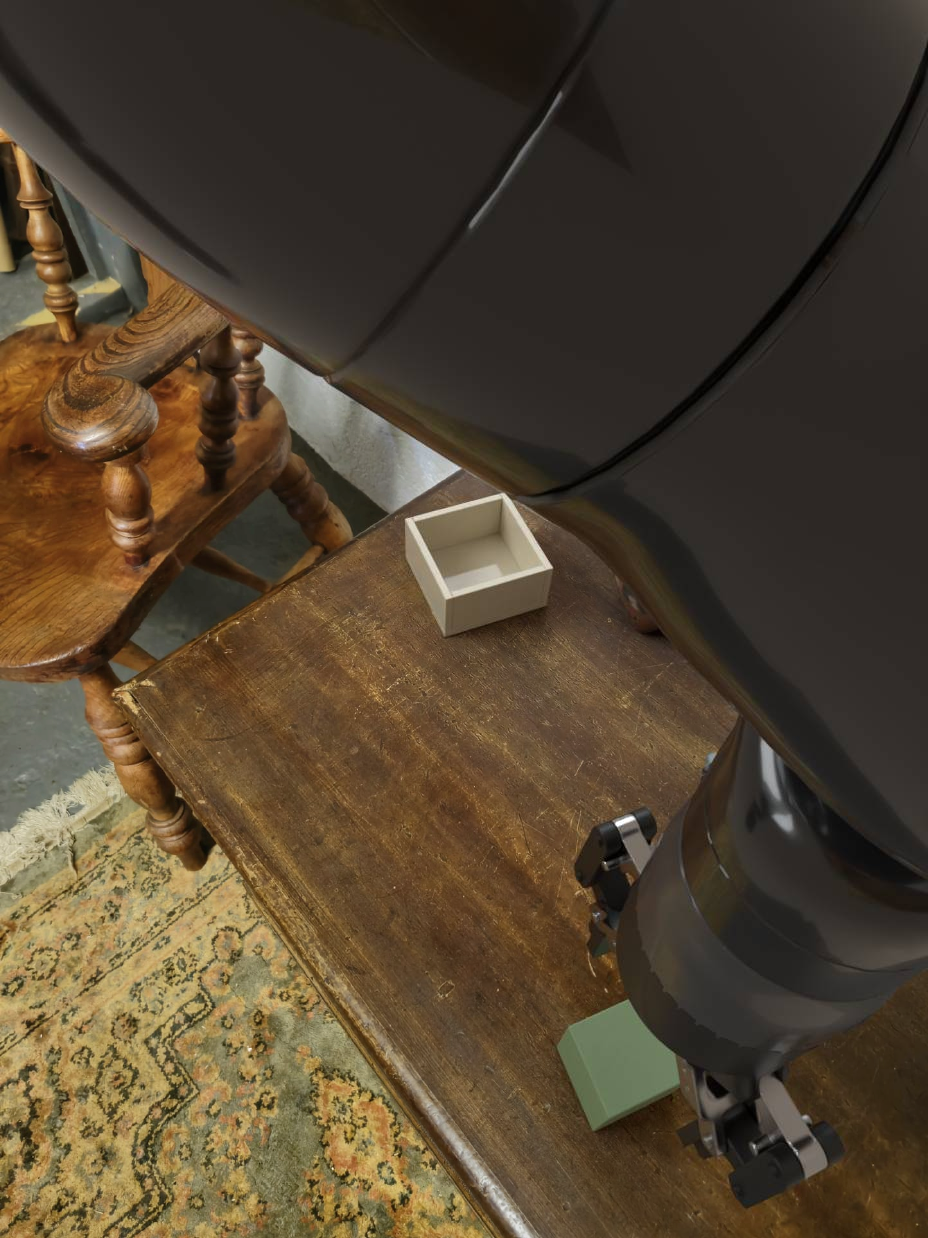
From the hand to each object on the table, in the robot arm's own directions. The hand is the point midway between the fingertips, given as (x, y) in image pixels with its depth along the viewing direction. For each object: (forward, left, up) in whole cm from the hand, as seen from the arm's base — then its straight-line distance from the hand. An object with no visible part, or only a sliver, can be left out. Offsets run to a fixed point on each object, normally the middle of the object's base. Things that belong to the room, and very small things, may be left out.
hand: (650, 1032), depth 40 cm
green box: (0, 0, -9) cm, 9 cm away
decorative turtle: (+20, +29, -9) cm, 36 cm away
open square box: (+6, +35, -9) cm, 37 cm away
